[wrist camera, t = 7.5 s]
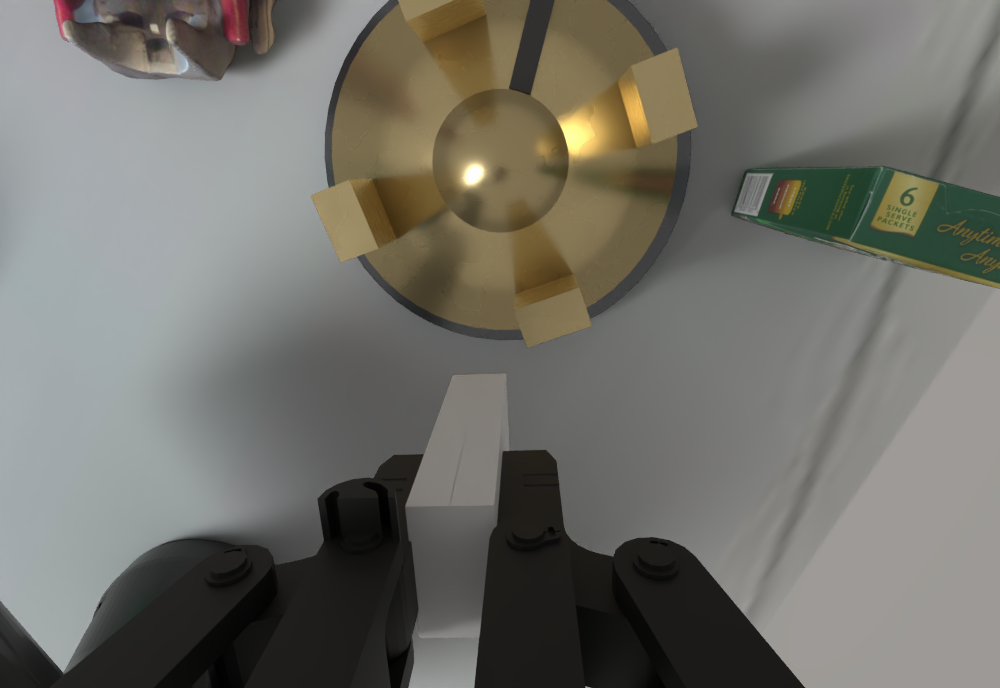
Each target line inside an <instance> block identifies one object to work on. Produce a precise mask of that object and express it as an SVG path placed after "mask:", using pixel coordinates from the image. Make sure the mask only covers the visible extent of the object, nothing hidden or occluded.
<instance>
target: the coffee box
mask: <svg viewBox="0 0 1000 688" xmlns="http://www.w3.org/2000/svg"><path fill="white" fill-rule="evenodd" d="M731 215H732V216H734V217H737V218H741V219H743V220H746V221H750V222H753V223H756V224H759V225H762V226H765V227H768V228H771V229H775V230H778V231H781V232H784V233H785V234H790V235H794V236H797V237H801V238H804V239H807V240H810V241H815V242H819V243H822V244H826V245H829V246H833V247H836V248H839V249H844V250H847V251H851V252H855V253H859V254H863V255H867V256H871V257H874V258H879V259H882V260H885V261H890V262H893V263H897V264H901V265H905V266H909V267H912V268H916V269H920V270H924V271H928V272H932V273H937V274H941V275H945V276H949V277H953V278H957V279H961V280H965V281H970V282H974V283H978V284H982V285H987V286H991V287H995V288H999V289H1000V197H997V196H994V195H990V194H986V193H982V192H979V191H975V190H971V189H968V188H964V187H960V186H957V185H953V184H949V183H946V182H942V181H938V180H935V179H931V178H927V177H923V176H920V175H916V174H912V173H909V172H905V171H901V170H898V169H894V168H890V167H885V166H876V167H816V168H814V167H807V168H801V167H798V168H792V167H789V168H756V169H747V170H746V171H745V174H744V177H743V180H742V183H741V186H740V189H739V192H738V195H737V199H736V202H735V205H734V207H733V210H732V213H731Z"/></svg>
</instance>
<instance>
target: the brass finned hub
mask: <svg viewBox="0 0 1000 688" xmlns="http://www.w3.org/2000/svg"><path fill="white" fill-rule="evenodd" d="M398 2H399V4H398V5H396V6H395V7H394V8H393V9H392V10H391V11H390V12H389V13H388V14H387V15H386V16H385V17H384V18H383V19H382V20H381V21H380V22H379V23H378V24H377V26H376V27H375V28H374V29H373V31H372V32H371V33H370V35H369V36H368V37H367V39H366V40H365V41H364V42H363V44H362V46H361V48H360V49H359V51H358V53H357V55H356V56H355V58H354V60H353V61H352V63H351V65H350V68H349V70H348V73H347V75H346V77H345V80H344V82H343V85H342V87H341V91H340V95H339V99H338V102H337V106H336V110H335V117H334V124H333V131H332V164H333V173H334V181H335V186H332V187H330V188H328V189H325V190H323V191H320V192H318V193H315V194H313V195H311V198H312V200H313V202H314V204H315V206H316V209H317V211H318V213H319V215H320V218H321V220H322V222H323V224H324V227H325V229H326V231H327V233H328V236H329V238H330V240H331V242H332V245H333V247H334V249H335V251H336V253H337V256H338V258H339V260H340V262H344V261H347V260H349V259H352V258H355V257H357V256H360V255H362V254H364V255H365V256H366V258H367V259H368V261H369V262H370V263H371V264H372V266H373V267H374V268H375V269H376V270H377V271H378V273H379V274H380V275H381V276H382V277H383V278H384V279H385V280H386V281H387V282H388V283H389V284H390V285H391V286H392V287H393V288H395V289H396V290H397V291H398V292H399V293H400V294H402V295H403V296H404V297H406V298H407V299H409V300H410V301H412V302H413V303H414V304H416V305H417V306H419V307H421V308H423V309H425V310H427V311H429V312H430V313H432V314H434V315H436V316H439V317H442V318H444V319H447V320H449V321H452V322H455V323H458V324H463V325H467V326H471V327H475V328H483V329H492V330H518V329H520V330H521V332H522V335H523V338H524V340H525V343H526V346H527V348H528V347H531V346H534V345H537V344H540V343H543V342H546V341H549V340H552V339H555V338H558V337H561V336H564V335H567V334H570V333H573V332H576V331H579V330H582V329H585V328H588V327H591V326H592V324H591V321H590V318H589V315H588V312H587V309H586V308H587V307H588V306H590V305H592V304H594V303H595V302H597V301H598V300H599V299H601V298H602V297H603V296H605V295H606V294H607V293H609V292H610V291H612V290H613V289H614V288H615V287H616V286H617V285H618V284H619V283H620V282H621V281H622V280H623V279H624V278H625V277H626V276H627V275H628V274H629V273H630V272H631V271H632V269H633V268H634V267H635V266H636V265H637V263H638V262H639V261H640V260H641V258H642V257H643V256H644V254H645V252H646V251H647V249H648V247H649V246H650V244H651V243H652V241H653V239H654V238H655V236H656V234H657V231H658V229H659V227H660V225H661V223H662V221H663V218H664V216H665V213H666V210H667V207H668V204H669V201H670V197H671V194H672V189H673V184H674V178H675V173H676V162H677V135H678V134H680V133H683V132H686V131H688V130H691V129H694V128H696V127H698V125H697V121H696V117H695V114H694V110H693V106H692V102H691V98H690V94H689V90H688V86H687V82H686V78H685V75H684V71H683V67H682V63H681V59H680V55H679V51H678V47H677V48H674V49H672V50H669V51H667V52H664V53H662V54H659V55H657V56H654V55H653V53H652V51H651V50H650V48H649V47H648V45H647V44H646V42H645V41H644V39H643V38H642V36H641V35H640V33H639V32H638V31H637V29H636V28H635V27H634V26H633V25H632V24H631V23H630V22H629V21H628V19H627V18H626V17H625V16H624V15H623V14H622V13H621V12H620V11H619V10H618V9H616V8H615V7H614V6H613V5H612V4H610V3H609V2H608V1H607V0H398Z"/></svg>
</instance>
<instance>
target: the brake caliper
mask: <svg viewBox="0 0 1000 688" xmlns="http://www.w3.org/2000/svg"><path fill="white" fill-rule="evenodd" d="M275 2H276V0H250V3H251V5H250V8H249V0H54V4H55V12H56V18H57V22H58V26H59V31H60V35H61V37H62V38H63V39H64V40H65V41H67V42H69V43H72V44H73V45H75V46H77V47H78V48H80V49H81V50H82V51H84V52H86V53H87V54H89V55H90V56H91V57H93V58H95V59H97V60H99V61H101V62H102V63H104V64H105V65H106V66H107V67H109V68H110V69H111V70H112V71H114V72H117V73H119V74H122V75H124V76H126V77H129V78H137V79H166V78H186V79H195V80H208V81H218V80H221V79H222V78H223V75H224V73H225V71H226V69H227V67H228V65H229V64H230V62H231V61H232V59H233V56H234V52H235V45H240V46H243V45H246V44H248V42H249V39H250V33H251V38H252V44H253V48H254V52H255V53H256V54H265V53H267V51H268V50H269V48H270V47H271V46H272V44H273V43H274V40H275V37H276V32H275V30H274V28H273V25H272V22H271V11H272V8H273V6H274V4H275ZM249 29H250V33H249Z"/></svg>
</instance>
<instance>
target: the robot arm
mask: <svg viewBox="0 0 1000 688" xmlns="http://www.w3.org/2000/svg"><path fill="white" fill-rule="evenodd" d="M318 505H319V511H320V518H321V524H322V530H323V537H324V542H323V544H322V546H321V548H320V550H319V551H318V553H317V555H315V556H313V557H309V558H306V559H302V560H298V561H294V562H289V563H285V564H280V565H276V566H275V565H274V560H273V556H272V555H271V553H270V552H269V551H268V549H266V548H263V547H260V546H257V545H241V546H232V545H229V544H225V543H220V542H215V541H208V540H183V541H176V542H171V543H167V544H164V545H161V546H158V547H156V548H154V549H152V550H150V551H148V552H146V553H144V554H143V555H141V556H140V557H139V558H138V559H136V560H135V561H134V562H133V563H132V564H131V565H130V566H129V567H128V568H127V569H126V570H125V571H124V572H123V573H122V574H121V575H120V576H119V577H118V578H117V579H116V580H115V581H114V582H113V583H112V584H111V585H110V586H109V588H108V589H107V590H106V592H105V593H104V595H103V596H102V598H101V600H100V602H99V604H98V606H97V609H96V611H95V613H94V616H93V620H92V622H91V623H90V625H89V627H88V629H87V630H86V632H85V634H84V636H83V638H82V639H81V641H80V643H79V645H78V647H77V649H76V651H75V652H74V654H73V656H72V658H71V660H70V662H69V664H68V666H67V667H66V669H65V671H64V672H62V671H61V670H60V669H59V667H58V666H57V665H56V664H55V663H54V662H53V661H52V659H51V658H50V657H49V656H48V655H47V654H46V653H45V651H44V650H43V649H42V648H41V647H40V646H39V645H38V643H37V642H36V641H35V640H34V639H33V638H32V637H31V635H30V634H29V633H28V632H27V631H26V630H25V629H24V627H23V626H22V625H21V624H20V623H19V622H18V621H17V619H16V618H15V617H14V616H13V615H12V614H11V613H10V611H9V610H8V609H7V608H6V607H5V606H4V605H3V603H2V602H1V601H0V688H408V686H409V682H410V677H411V673H412V669H413V664H414V650H413V641H412V634H413V630H414V626H415V622H416V618H417V622H418V632H419V638H479V647H478V657H477V667H476V677H475V687H474V688H585V686H587V687H590V688H805V687H804V686H803V685H802V684H801V682H800V681H799V680H798V679H797V678H796V676H795V675H794V674H793V673H792V672H791V670H790V669H789V668H788V667H787V666H786V664H785V663H784V662H783V661H782V660H781V658H780V657H779V656H778V655H777V654H776V653H775V651H774V650H773V649H772V648H771V646H770V645H769V644H768V643H767V642H766V641H765V639H764V638H763V637H762V636H761V634H760V633H759V632H758V631H757V630H756V628H755V627H754V626H753V625H752V624H751V622H750V621H749V620H748V619H747V618H746V616H745V615H744V614H743V613H742V612H741V610H740V609H739V608H738V607H737V606H736V604H735V603H734V602H733V601H732V600H731V598H730V597H729V596H728V595H727V594H726V593H725V591H724V590H723V589H722V588H721V587H720V585H719V584H718V583H717V582H716V581H715V579H714V578H713V577H712V576H711V575H710V573H709V572H708V571H707V570H706V569H705V567H704V566H703V565H702V564H701V563H700V561H699V560H698V559H697V558H696V557H695V556H694V555H693V554H692V553H691V552H690V551H688V550H687V549H686V548H685V547H683V546H681V545H679V544H676V543H674V542H672V541H670V540H665V539H659V538H654V537H649V538H636V539H633V540H630V541H627V542H624V543H623V544H622V545H621V546H620V547H619V548H617V549H616V551H615V554H614V557H612V556H608V555H603V554H599V553H595V552H592V551H589V550H587V549H585V548H582V547H580V546H579V545H577V544H576V543H575V542H573V541H572V540H571V539H570V538H569V536H568V535H567V534H566V532H565V528H564V524H563V515H562V506H561V498H560V489H559V480H558V471H557V462H556V460H555V459H554V458H553V457H552V456H551V455H550V454H549V453H548V452H547V451H546V450H527V451H510V447H509V425H508V402H507V380H506V373H498V374H464V375H453V376H452V379H451V381H450V384H449V387H448V390H447V392H446V395H445V398H444V401H443V403H442V406H441V409H440V412H439V415H438V417H437V420H436V423H435V426H434V428H433V431H432V434H431V437H430V439H429V442H428V445H427V448H426V450H425V453H424V454H420V455H394V456H392V457H391V458H390V459H388V460H387V461H386V462H385V463H383V464H382V465H381V466H380V467H379V469H378V471H377V473H376V475H375V477H374V478H361V479H353V480H349V481H346V482H343V483H340V484H337V485H335V486H333V487H331V488H330V489H328V490H326V491H325V492H324V493H323V494H322V495H321V496H320V497H319V498H318Z"/></svg>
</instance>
